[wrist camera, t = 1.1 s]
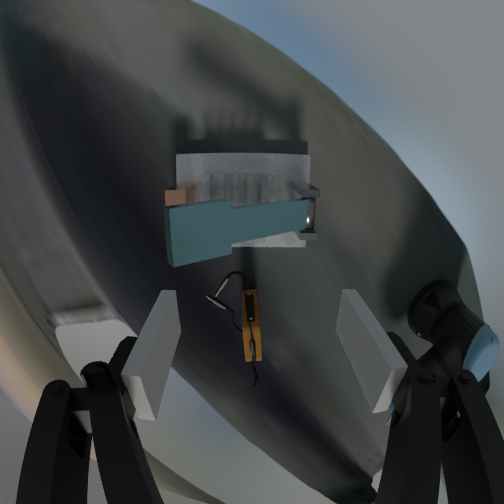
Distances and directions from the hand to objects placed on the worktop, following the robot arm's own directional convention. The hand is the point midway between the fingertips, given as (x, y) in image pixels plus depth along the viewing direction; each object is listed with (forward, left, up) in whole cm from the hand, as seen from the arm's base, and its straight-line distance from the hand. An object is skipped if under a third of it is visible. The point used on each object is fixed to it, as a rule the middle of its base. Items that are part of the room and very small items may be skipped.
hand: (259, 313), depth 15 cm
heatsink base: (+1, 0, -36) cm, 36 cm away
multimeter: (+3, +21, -36) cm, 42 cm away
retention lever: (0, 0, -20) cm, 20 cm away
